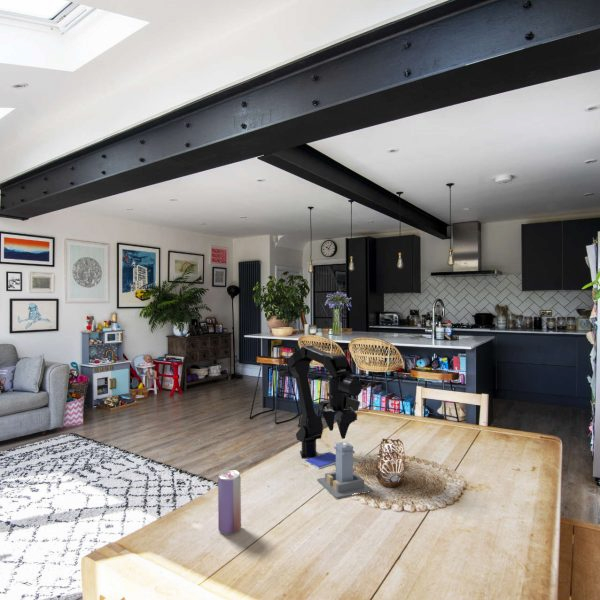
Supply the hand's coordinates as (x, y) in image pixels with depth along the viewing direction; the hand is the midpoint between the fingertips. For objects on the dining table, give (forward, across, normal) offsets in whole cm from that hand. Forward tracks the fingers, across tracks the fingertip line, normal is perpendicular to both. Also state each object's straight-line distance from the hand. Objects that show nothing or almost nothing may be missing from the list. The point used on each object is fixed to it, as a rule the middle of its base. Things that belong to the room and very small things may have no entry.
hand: (337, 434), depth 154 cm
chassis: (+13, -12, +3) cm, 18 cm away
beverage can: (+13, -23, +44) cm, 51 cm away
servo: (+12, -12, +3) cm, 17 cm away
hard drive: (+14, +10, +1) cm, 17 cm away
